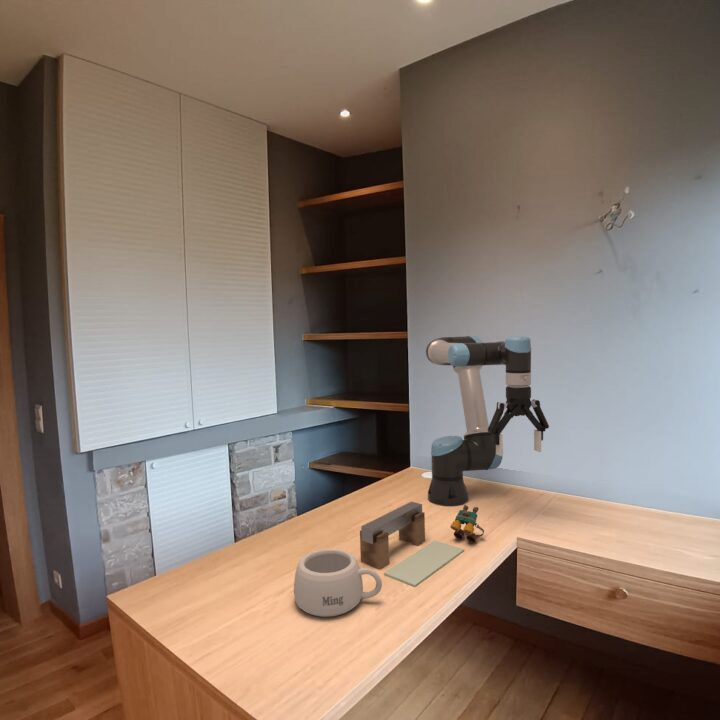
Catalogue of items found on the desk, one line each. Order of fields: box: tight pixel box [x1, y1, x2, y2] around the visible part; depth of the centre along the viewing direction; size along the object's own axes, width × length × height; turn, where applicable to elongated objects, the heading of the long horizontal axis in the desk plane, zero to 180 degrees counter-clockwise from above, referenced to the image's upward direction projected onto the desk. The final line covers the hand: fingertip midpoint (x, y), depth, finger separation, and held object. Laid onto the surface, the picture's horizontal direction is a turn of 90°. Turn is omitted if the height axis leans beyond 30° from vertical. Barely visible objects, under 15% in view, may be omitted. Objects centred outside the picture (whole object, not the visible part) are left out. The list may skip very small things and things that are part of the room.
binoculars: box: [450, 504, 485, 544], centre depth 148 cm, size 9×9×10 cm
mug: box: [293, 548, 383, 618], centre depth 116 cm, size 21×17×10 cm
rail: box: [360, 501, 423, 544], centre depth 141 cm, size 4×24×4 cm, turn 139°
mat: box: [383, 539, 465, 588], centre depth 134 cm, size 10×25×1 cm, turn 139°
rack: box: [359, 511, 426, 570], centre depth 141 cm, size 7×22×9 cm, turn 139°
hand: (518, 453), depth 151 cm, fingers open, 13 cm apart
